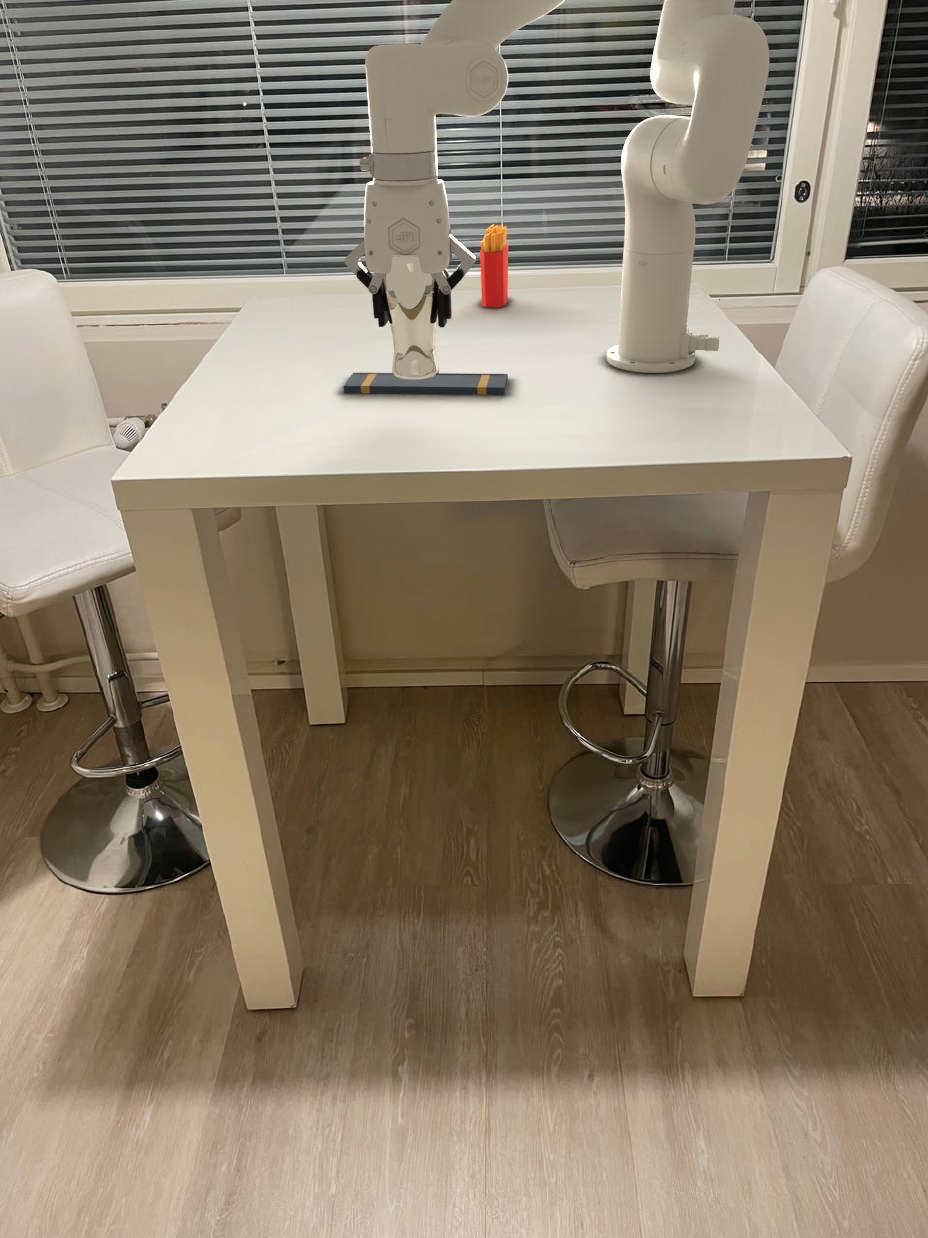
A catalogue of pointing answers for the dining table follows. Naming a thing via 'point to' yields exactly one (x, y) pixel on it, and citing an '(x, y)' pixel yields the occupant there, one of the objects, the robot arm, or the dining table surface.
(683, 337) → the robot arm
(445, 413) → the dining table surface
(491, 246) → the french fries
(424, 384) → the blue striped flat box
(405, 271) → the beer glass
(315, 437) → the dining table surface
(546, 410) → the dining table surface
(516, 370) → the dining table surface
